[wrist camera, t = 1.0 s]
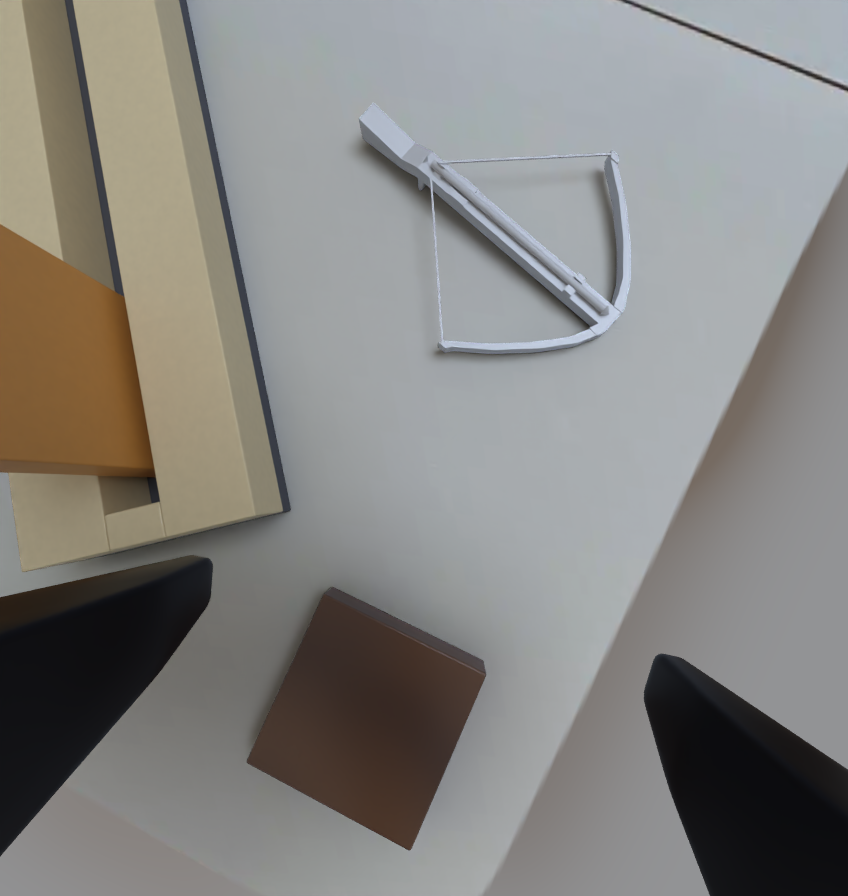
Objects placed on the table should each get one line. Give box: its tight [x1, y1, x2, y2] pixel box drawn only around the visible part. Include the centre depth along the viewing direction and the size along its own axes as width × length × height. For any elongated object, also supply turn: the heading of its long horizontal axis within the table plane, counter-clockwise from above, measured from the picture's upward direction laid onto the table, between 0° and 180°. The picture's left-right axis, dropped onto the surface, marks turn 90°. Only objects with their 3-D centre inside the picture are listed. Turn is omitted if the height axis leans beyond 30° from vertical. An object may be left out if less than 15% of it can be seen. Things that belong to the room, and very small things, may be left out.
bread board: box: [247, 587, 486, 850], centre depth 19 cm, size 8×8×2 cm
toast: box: [0, 224, 156, 478], centre depth 16 cm, size 8×1×11 cm, turn 14°
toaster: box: [0, 0, 291, 572], centre depth 21 cm, size 40×11×4 cm, turn 14°
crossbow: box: [359, 103, 631, 354], centre depth 21 cm, size 16×13×2 cm
